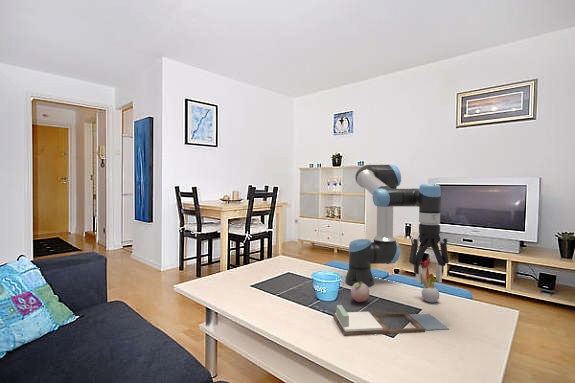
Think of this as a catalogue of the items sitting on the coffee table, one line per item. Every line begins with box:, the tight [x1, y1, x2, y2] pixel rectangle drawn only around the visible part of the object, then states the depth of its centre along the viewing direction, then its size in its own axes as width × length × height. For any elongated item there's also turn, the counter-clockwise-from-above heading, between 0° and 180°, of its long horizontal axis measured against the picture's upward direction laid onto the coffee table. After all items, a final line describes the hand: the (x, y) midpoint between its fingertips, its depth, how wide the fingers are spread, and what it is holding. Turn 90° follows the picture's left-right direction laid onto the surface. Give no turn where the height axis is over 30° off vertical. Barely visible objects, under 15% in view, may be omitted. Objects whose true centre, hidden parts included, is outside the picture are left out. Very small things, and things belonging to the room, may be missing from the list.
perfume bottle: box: [421, 272, 440, 304], centre depth 141 cm, size 8×10×12 cm
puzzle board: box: [333, 311, 426, 337], centre depth 118 cm, size 15×30×1 cm, turn 96°
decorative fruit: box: [350, 281, 370, 303], centre depth 139 cm, size 9×8×10 cm
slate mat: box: [408, 313, 450, 332], centre depth 120 cm, size 13×9×1 cm
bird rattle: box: [419, 258, 437, 288], centre depth 119 cm, size 6×11×9 cm
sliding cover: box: [334, 304, 383, 332], centre depth 117 cm, size 14×14×5 cm
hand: (428, 281), depth 119 cm, fingers closed on bird rattle, 8 cm apart
